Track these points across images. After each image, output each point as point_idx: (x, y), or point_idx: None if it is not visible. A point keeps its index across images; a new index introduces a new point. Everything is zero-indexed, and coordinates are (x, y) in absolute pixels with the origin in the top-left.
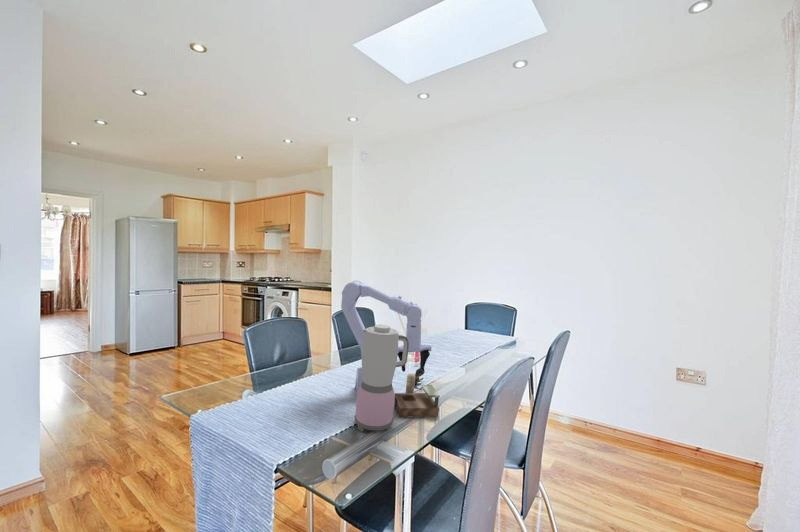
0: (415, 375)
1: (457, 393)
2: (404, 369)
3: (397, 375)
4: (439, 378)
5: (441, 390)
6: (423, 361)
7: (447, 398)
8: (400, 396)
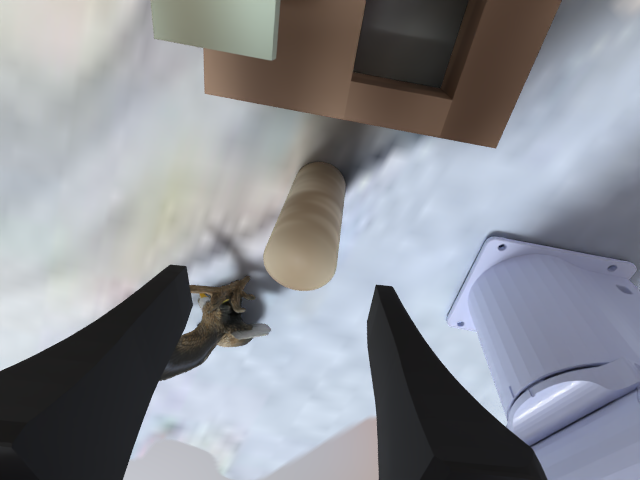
0: (220, 332)
1: (2, 145)
2: (389, 298)
3: (288, 383)
4: (87, 321)
5: (99, 203)
6: (124, 331)
7: (78, 89)
8: (471, 75)
